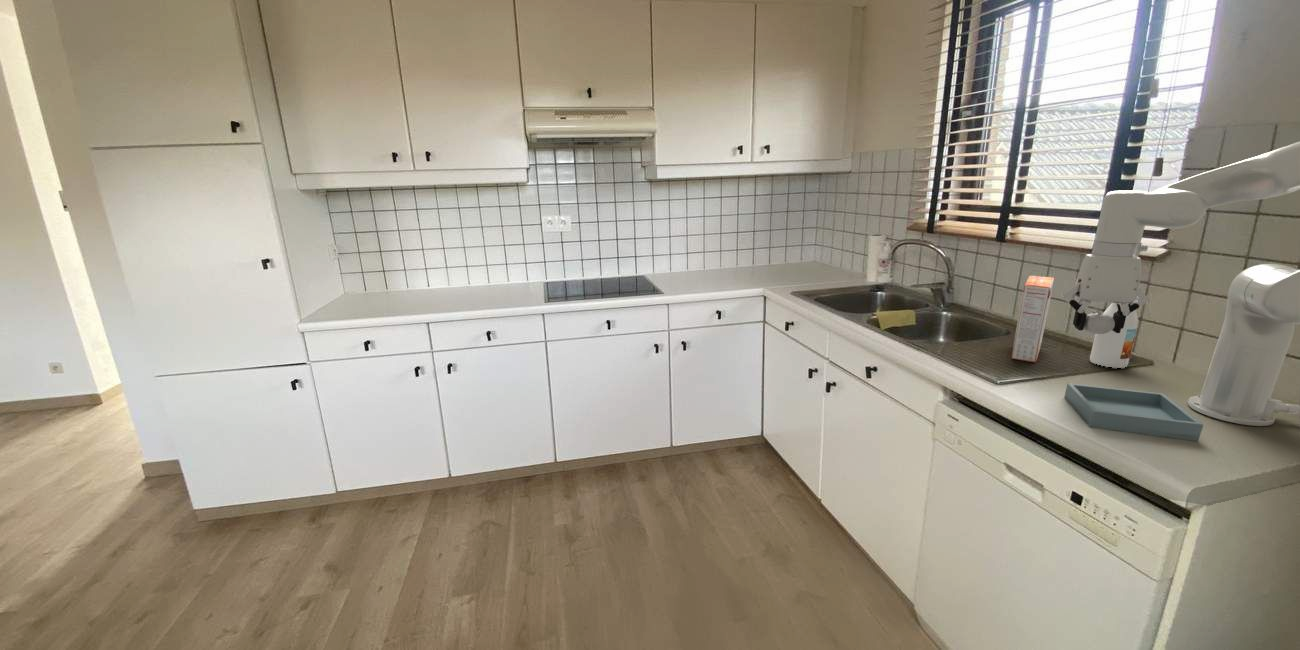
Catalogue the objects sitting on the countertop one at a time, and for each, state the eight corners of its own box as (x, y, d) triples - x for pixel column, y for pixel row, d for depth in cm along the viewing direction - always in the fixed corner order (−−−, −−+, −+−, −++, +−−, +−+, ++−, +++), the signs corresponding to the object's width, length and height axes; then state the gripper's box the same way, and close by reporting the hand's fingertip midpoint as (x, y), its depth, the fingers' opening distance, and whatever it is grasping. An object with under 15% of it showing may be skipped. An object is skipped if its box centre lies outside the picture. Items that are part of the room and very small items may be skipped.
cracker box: (1015, 345, 154) (1029, 274, 148) (1040, 349, 151) (1056, 277, 144) (1008, 358, 144) (1023, 283, 138) (1035, 363, 140) (1052, 286, 134)
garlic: (1084, 335, 117) (1090, 312, 116) (1075, 328, 122) (1079, 306, 121) (1118, 337, 116) (1123, 314, 114) (1106, 330, 120) (1111, 308, 119)
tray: (1158, 408, 114) (1163, 393, 113) (1198, 441, 101) (1203, 424, 100) (1064, 397, 120) (1067, 383, 119) (1089, 427, 107) (1093, 411, 106)
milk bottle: (1106, 369, 135) (1126, 294, 130) (1081, 359, 143) (1098, 286, 137) (1135, 368, 136) (1156, 293, 130) (1108, 358, 143) (1127, 286, 137)
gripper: (1157, 248, 114) (1136, 328, 119) (1060, 246, 120) (1045, 322, 125) (1175, 254, 107) (1153, 338, 112) (1072, 251, 113) (1055, 331, 118)
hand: (1096, 329), depth 119 cm, fingers closed on garlic, 6 cm apart
